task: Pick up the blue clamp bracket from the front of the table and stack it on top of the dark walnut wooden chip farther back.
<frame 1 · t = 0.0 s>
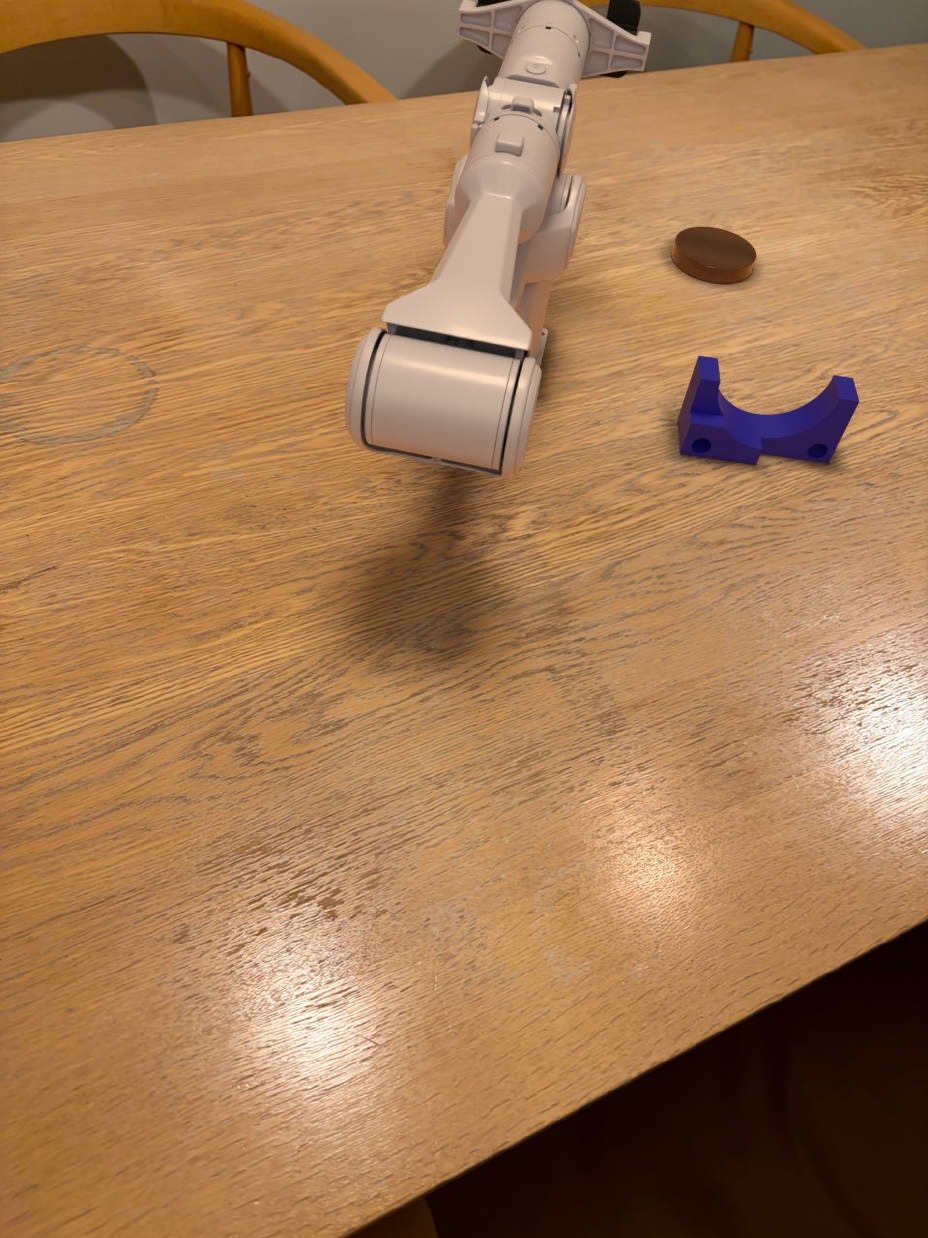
walnut chip: (711, 261, 97), on the table
blue clamp bracket: (752, 448, 79), on the table
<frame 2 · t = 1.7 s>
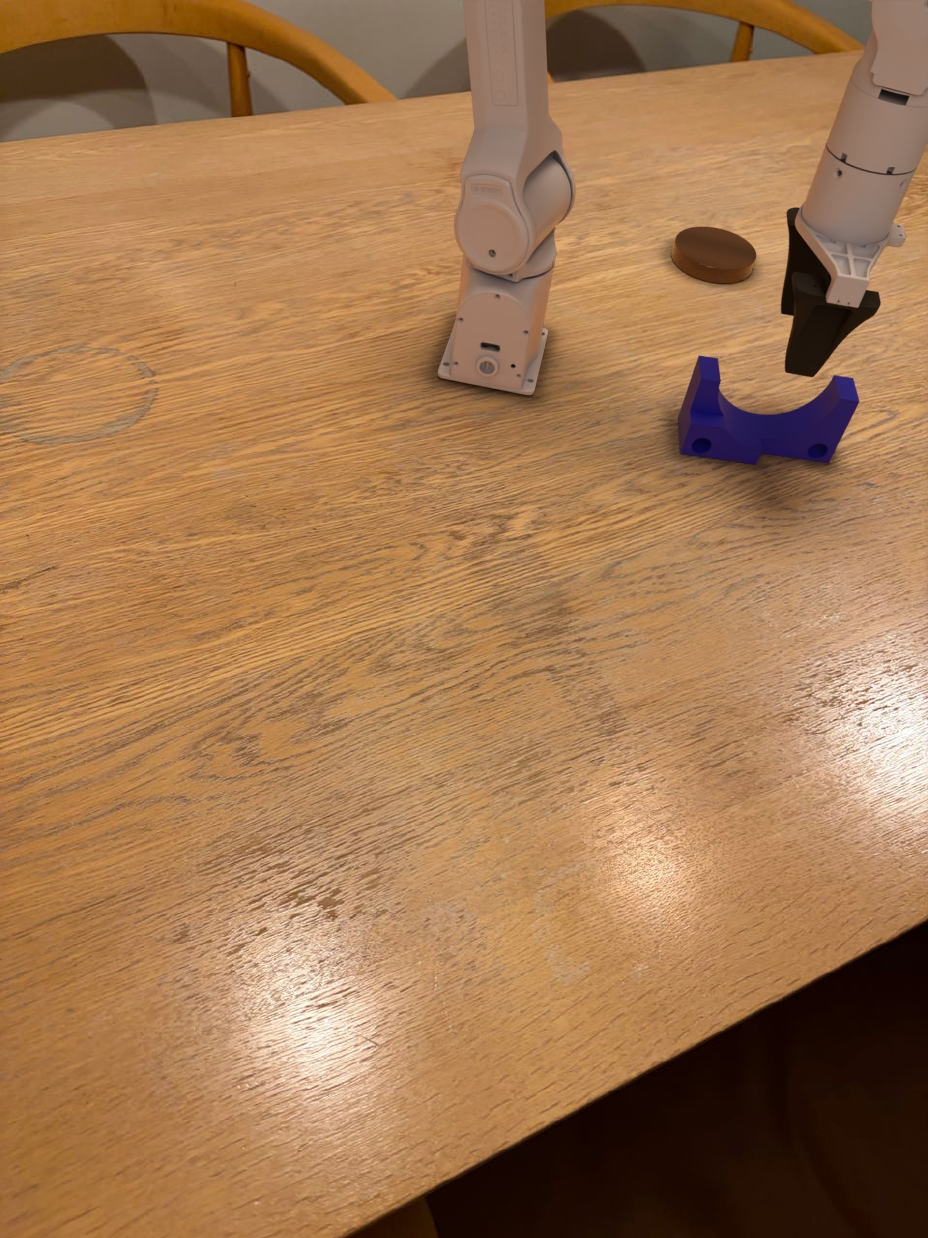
hand: (796, 342, 72), 10 cm above the table, tool pointing down, fingers open, 7 cm apart
nothing on the table moved.
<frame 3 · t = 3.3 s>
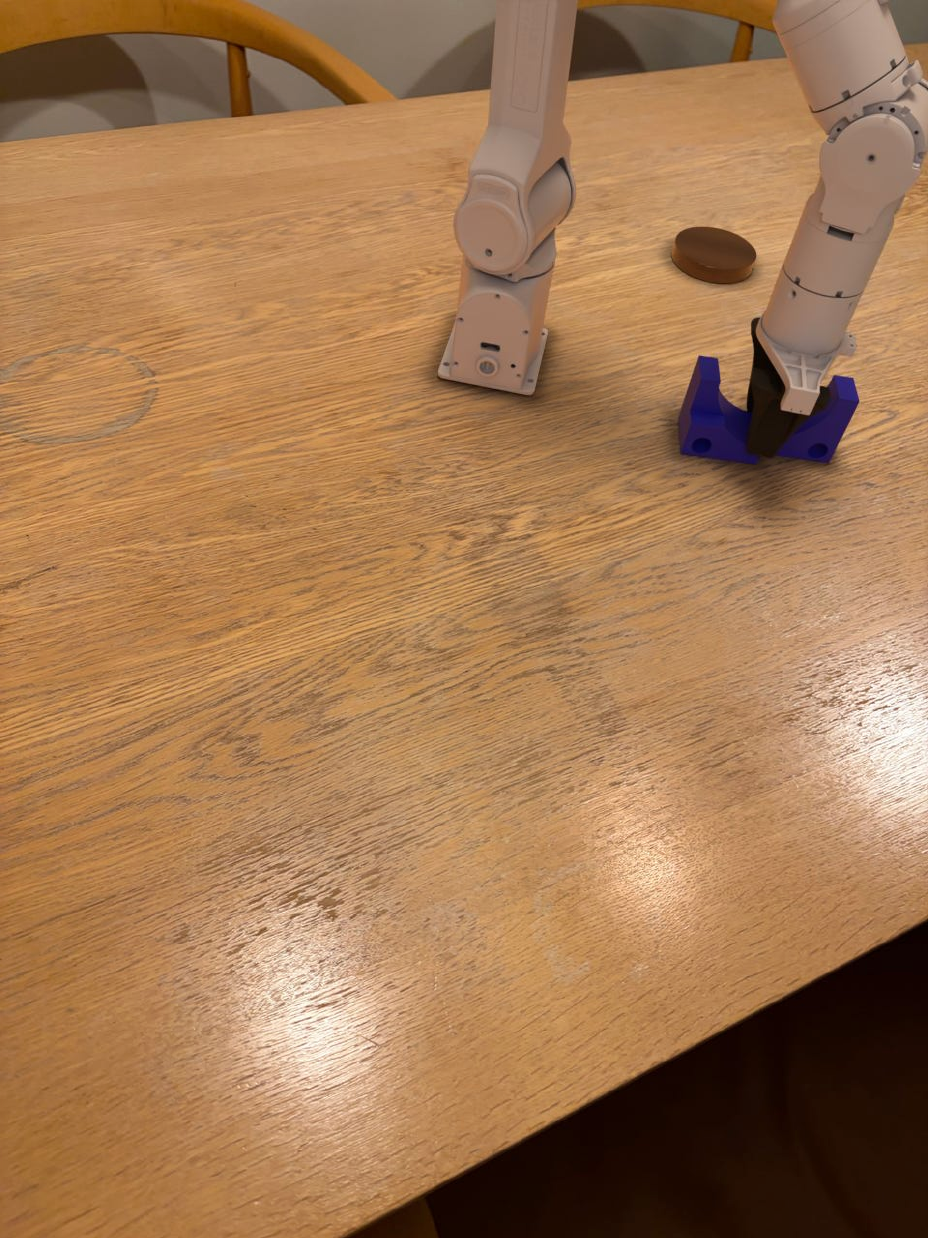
hand: (759, 432, 78), 1 cm above the table, tool pointing down, fingers closed on blue clamp bracket, 5 cm apart
blue clamp bracket: (752, 448, 79), on the table, touching gripper
everything else where it was.
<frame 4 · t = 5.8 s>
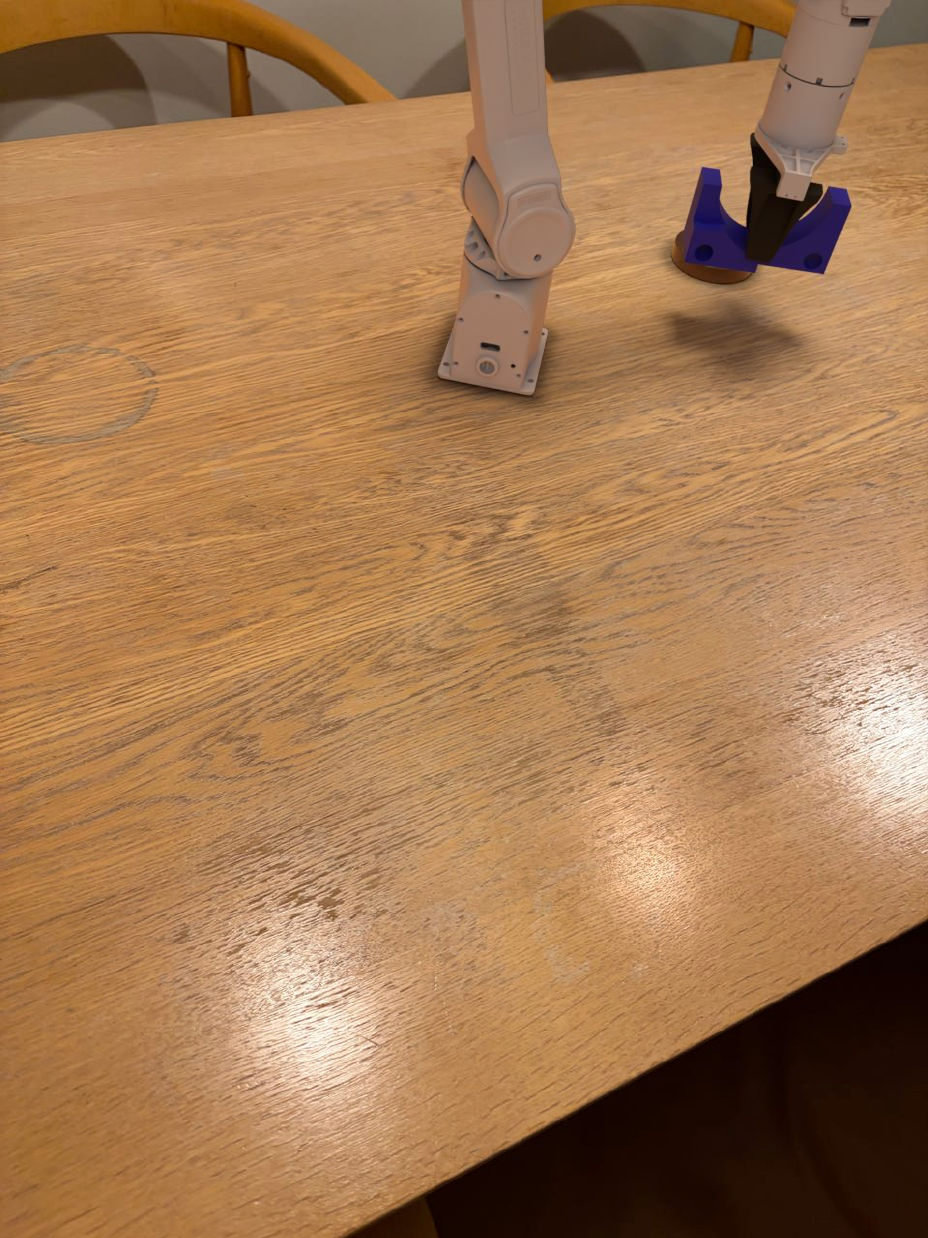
hand: (757, 243, 83), 8 cm above the table, tool pointing down, fingers closed on blue clamp bracket, 5 cm apart
blue clamp bracket: (752, 261, 84), point 7 cm above the table, touching gripper
everything else where it was.
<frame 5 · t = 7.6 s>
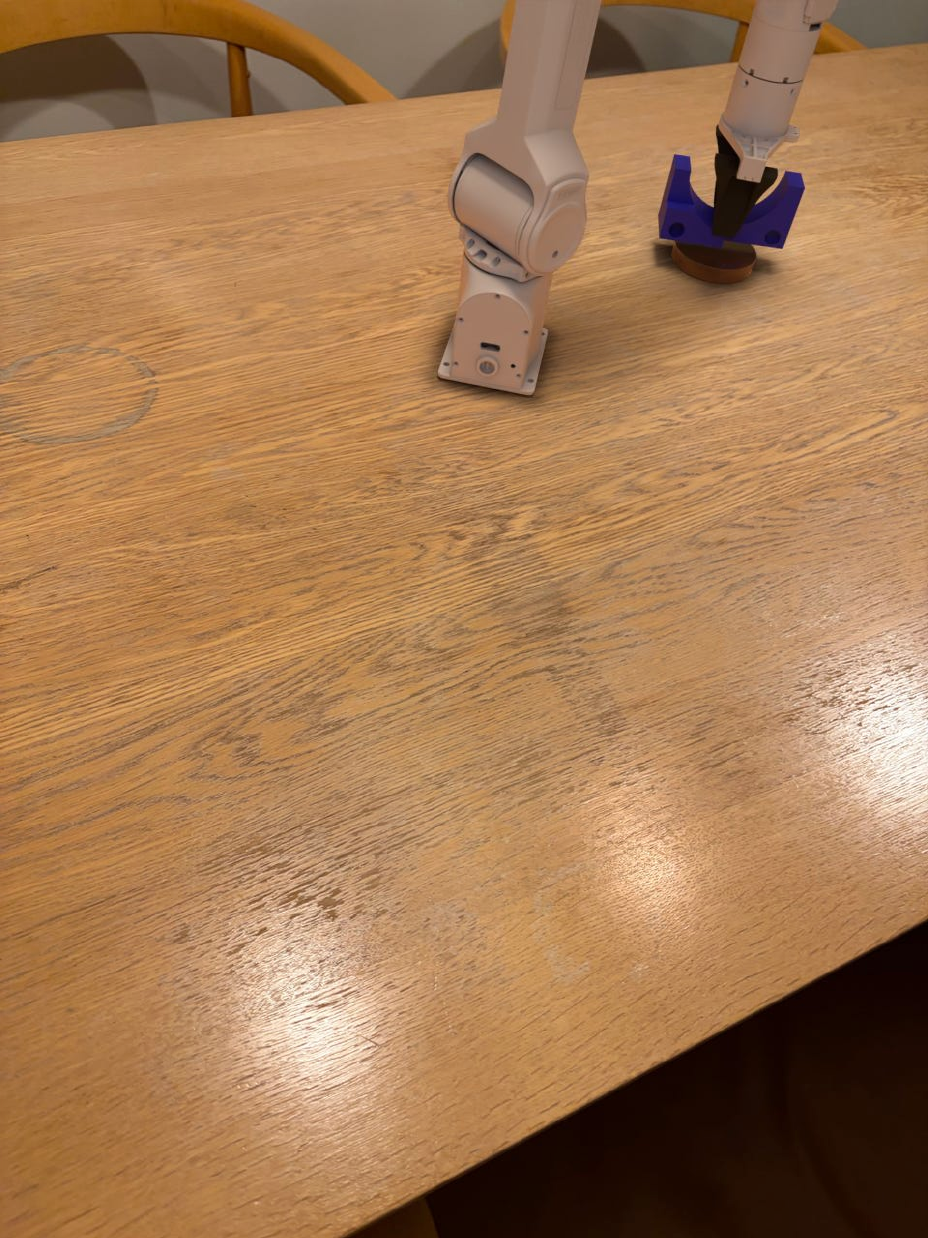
hand: (723, 221, 94), 4 cm above the table, tool pointing down, fingers closed on blue clamp bracket, 5 cm apart
blue clamp bracket: (719, 237, 95), point 2 cm above the table, touching gripper
everything else where it was.
when the fingers open (3 cm above the table, at t = 8.5 s): blue clamp bracket stays where it is, resting on walnut chip.
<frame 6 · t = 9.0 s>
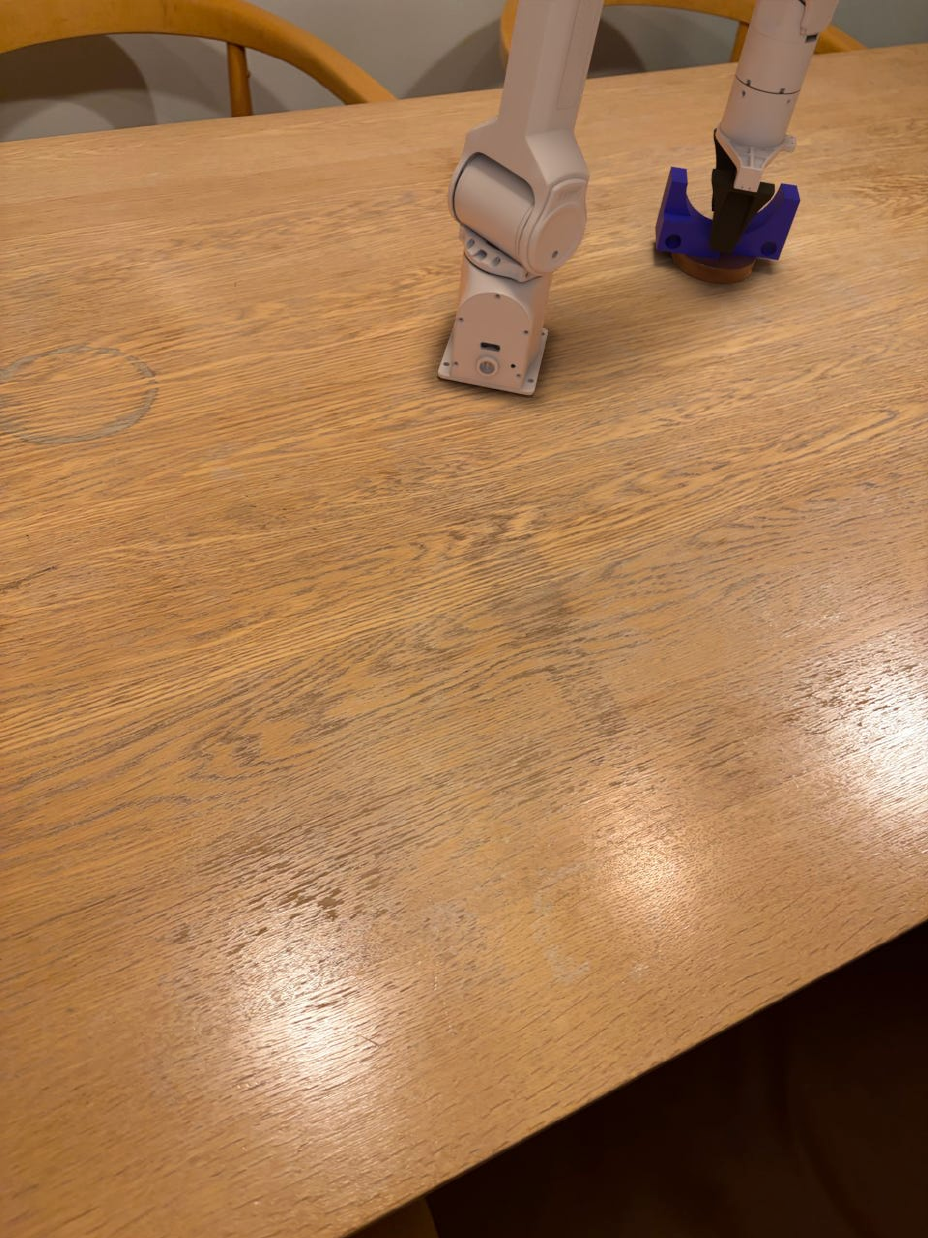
hand: (721, 230, 95), 3 cm above the table, tool pointing down, fingers open, 7 cm apart
walnut chip: (711, 261, 97), on the table, touching blue clamp bracket
blue clamp bracket: (716, 249, 96), point 1 cm above the table, touching walnut chip
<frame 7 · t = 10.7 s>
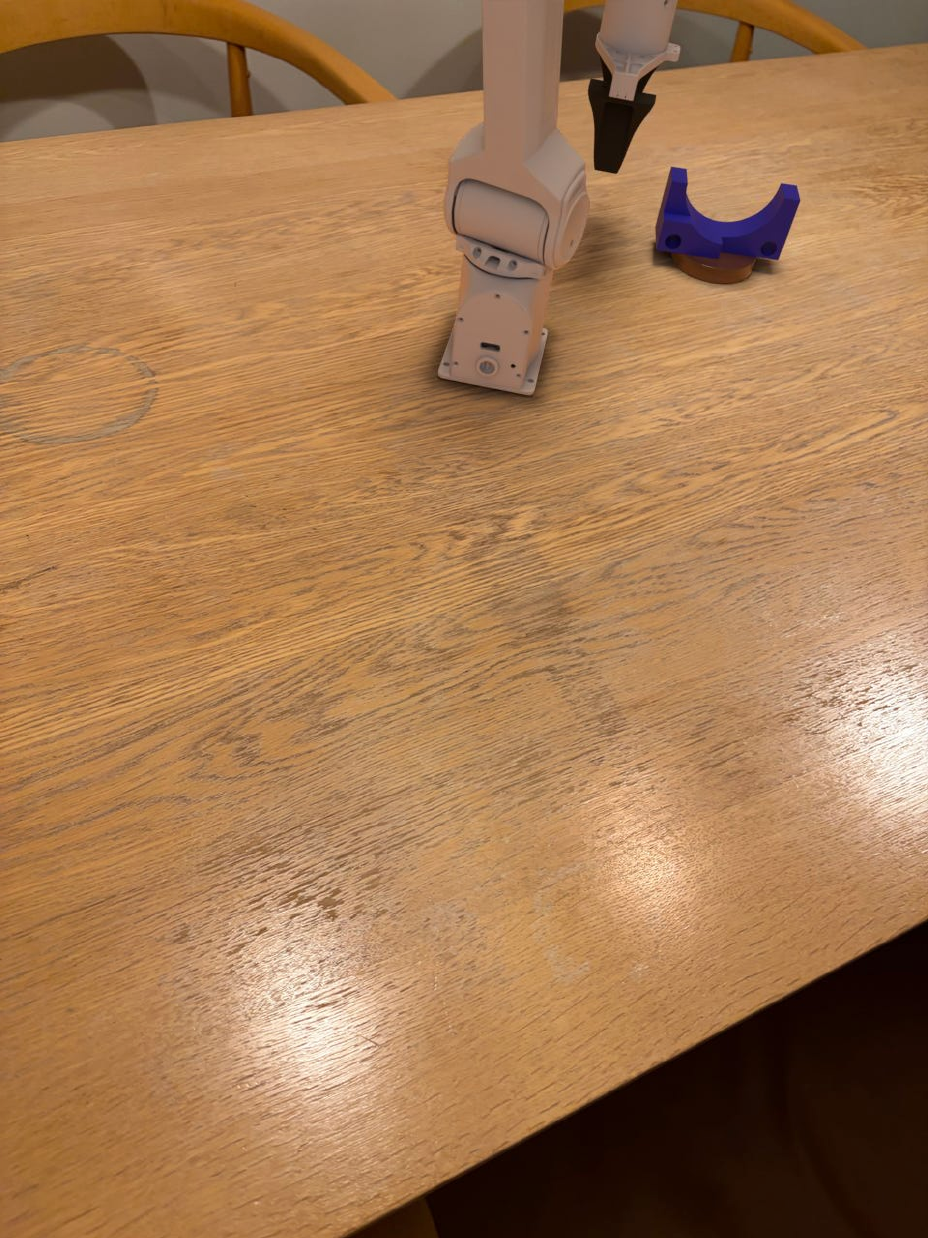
hand: (609, 151, 89), 9 cm above the table, tool pointing down, fingers open, 7 cm apart
nothing on the table moved.
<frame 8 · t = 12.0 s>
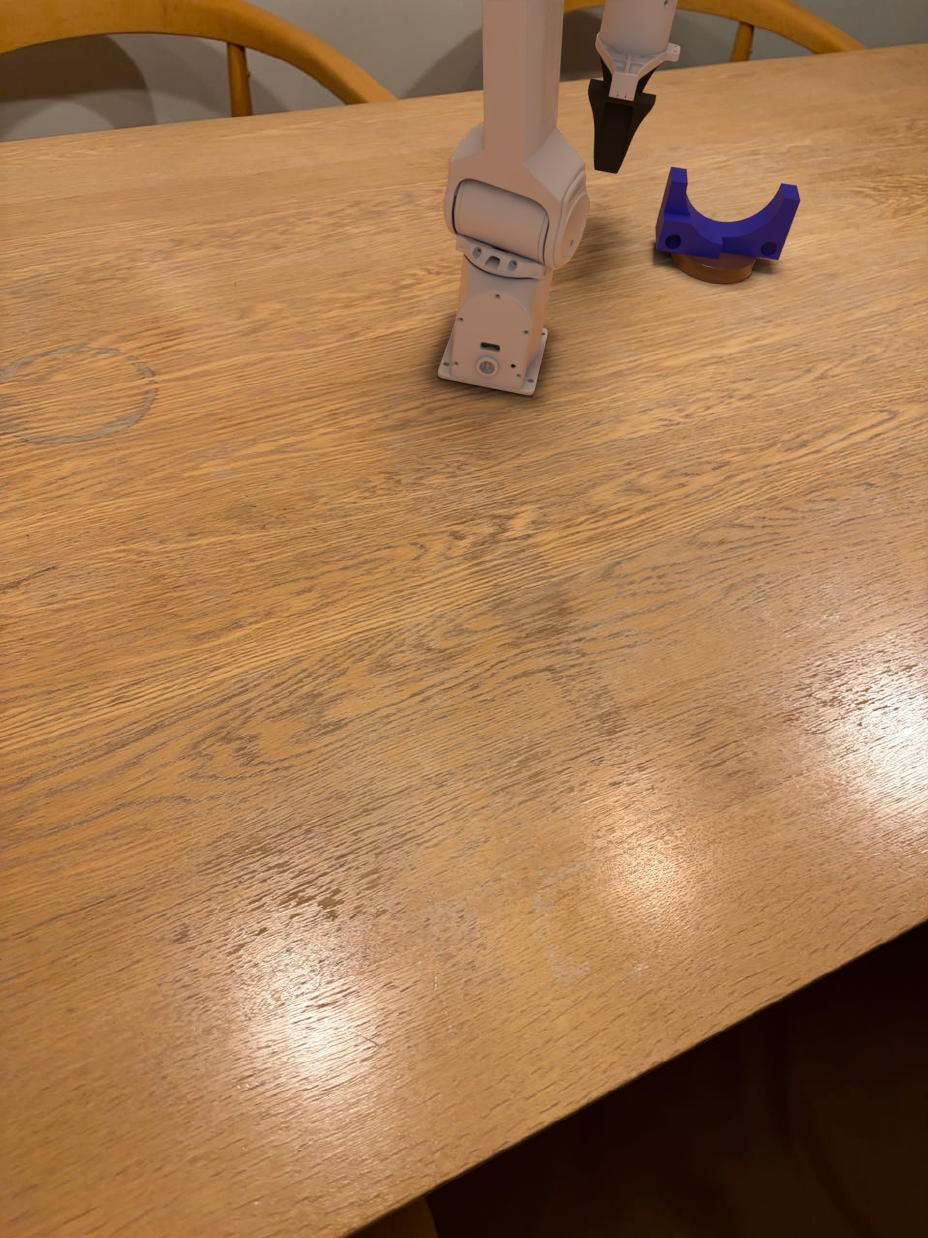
hand: (609, 151, 89), 9 cm above the table, tool pointing down, fingers open, 7 cm apart
nothing on the table moved.
at the end: blue clamp bracket 0.1 cm off-centre on the walnut chip, point 1.3 cm above the walnut chip's base; blue clamp bracket tilted 0°; the gripper is holding nothing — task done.
